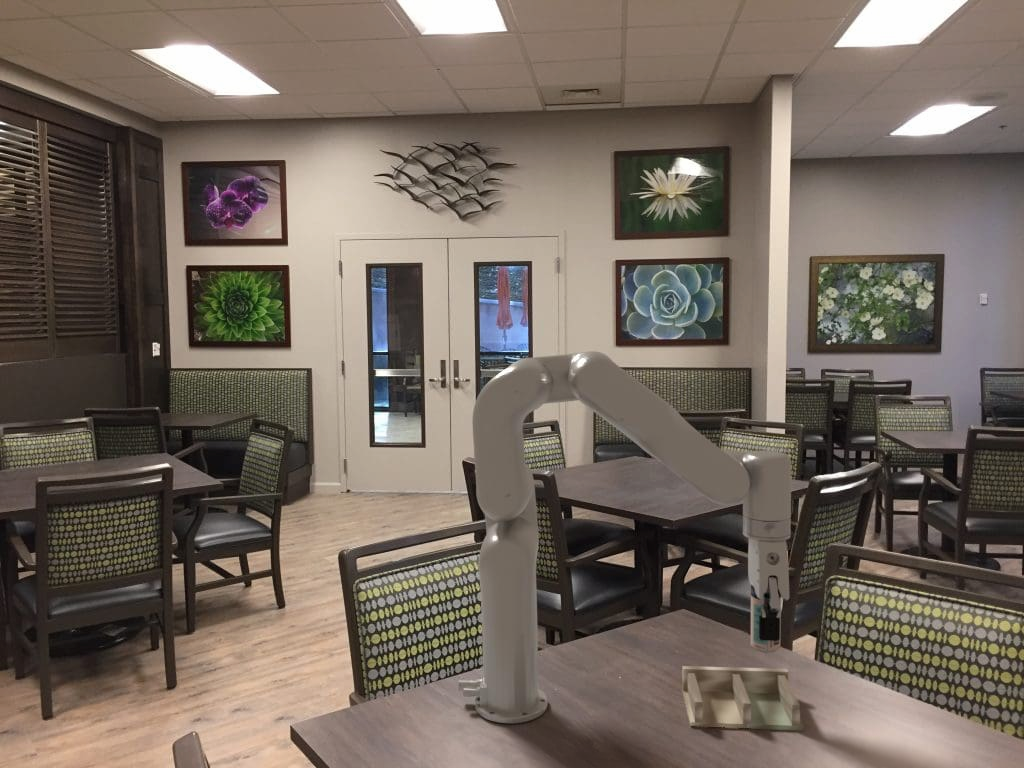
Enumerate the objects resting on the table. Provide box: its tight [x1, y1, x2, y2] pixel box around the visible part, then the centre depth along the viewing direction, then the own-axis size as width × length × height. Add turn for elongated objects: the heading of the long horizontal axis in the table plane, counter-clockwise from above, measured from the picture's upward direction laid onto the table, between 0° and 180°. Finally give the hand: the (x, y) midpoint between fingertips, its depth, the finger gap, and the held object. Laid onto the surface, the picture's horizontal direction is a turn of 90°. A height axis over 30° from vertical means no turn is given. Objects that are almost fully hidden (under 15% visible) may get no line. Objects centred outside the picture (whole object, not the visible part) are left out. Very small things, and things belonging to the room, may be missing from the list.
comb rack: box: [681, 665, 805, 732], centre depth 137 cm, size 18×12×5 cm, turn 84°
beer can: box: [750, 582, 782, 654], centre depth 135 cm, size 5×5×12 cm
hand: (765, 631), depth 135 cm, fingers closed on beer can, 4 cm apart
